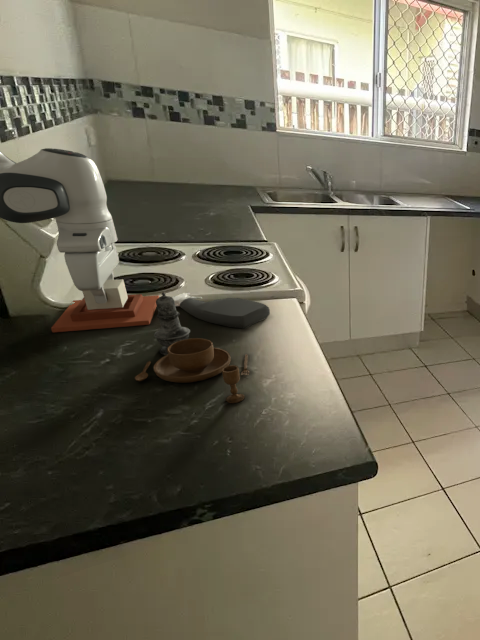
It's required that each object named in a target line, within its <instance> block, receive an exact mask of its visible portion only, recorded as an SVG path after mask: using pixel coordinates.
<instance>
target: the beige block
mask: <svg viewBox="0 0 480 640" xmlns="http://www.w3.org/2000/svg"><path fill="white" fill-rule="evenodd" d="M103 286H104V287H103V289H104V291H105V293H106V294H107V298H108V300H107V302H106V303H99V304H98V303H96V301H95V298H94V296H93V294H92V293H91V291H90V290H87V291H81V292H82V295H83V298H84V299H85V302H86V305H87V309H88V310H92V309H107V308H121V307H123V306H124V304H125V302H126V301H127V299H128V296H127V295H128V293H127V289H126V284H125V280H124V279H123V278H122V279H114V280H106V281H105V283H104V284H103Z"/></svg>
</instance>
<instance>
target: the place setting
mask: <svg viewBox="0 0 480 640" xmlns="http://www.w3.org/2000/svg"><path fill="white" fill-rule="evenodd" d="M167 352H168V355H164V356H162V357H160V358H159V359H158V360H157V361H156V362H155V363H154V364H153V371H154V373H155V375H156V376H157V377H159V378H160V379H161V380H163V381H167V382H170V383H176V384H177V383H179V384H181V383H182V384H185V383H196V382H201V381H205V380H208V379H210V378H211V379H212V378H213V377H215V376H218V375H219V374H222V378H223V381H224V383H225V384H226V385H229V387H230V391H229V392H230V395H228V396H227V397H226V398H225V402H226V403H228V404H237V403H240V402H243V401H244V400H245V399H246V397H245V395H244V394H243V393H238V388H237V384H238V383H239V381H240V379H241V377H242V376H245V375H247V376H249V375H250V371H249V369H248V354H245V355H244V360H243V361H244V363H243V370H242V371H241V373H240V369H239V366H238V365H235V364H231V360H232V358H231V357H232V356H231V354H230V352H228V351H227V350H225V349H223V348H219V347H214V344H213V342H212V341H211V340H210V339H207V338H202V337H201V338H200V337H193V338H188V339H185V340H181V341H178V342H175V343H173V344H171V345H170V346H169V347H168V348H167ZM151 364H152V361H151V360H149V361H147V362H146V364H145V366H144V367H143V370H142V371H141V372H140V373H138V374H136V375H135V376H134V380H135V381H136V382H143V381H145V380H147V378H148V377H149V374H148V373H147V370H148V368H150V365H151Z"/></svg>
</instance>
